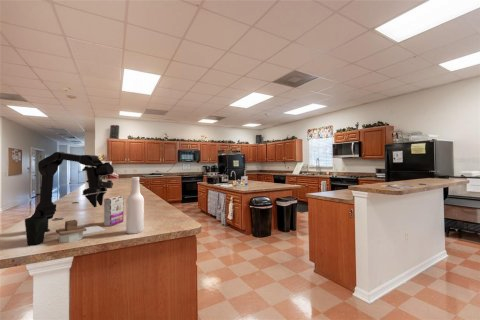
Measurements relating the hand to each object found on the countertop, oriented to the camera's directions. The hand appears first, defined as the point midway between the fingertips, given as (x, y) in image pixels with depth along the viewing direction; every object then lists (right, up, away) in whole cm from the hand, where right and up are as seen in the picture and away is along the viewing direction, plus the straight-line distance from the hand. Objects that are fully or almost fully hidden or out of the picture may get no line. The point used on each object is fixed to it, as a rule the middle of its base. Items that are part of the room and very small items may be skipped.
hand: (98, 206), depth 121 cm
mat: (-8, -15, +4) cm, 17 cm away
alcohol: (+19, -15, +2) cm, 24 cm away
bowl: (-7, -14, -11) cm, 19 cm away
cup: (-19, -14, -16) cm, 29 cm away
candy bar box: (-2, -15, +19) cm, 24 cm away
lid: (-7, -10, -11) cm, 16 cm away
